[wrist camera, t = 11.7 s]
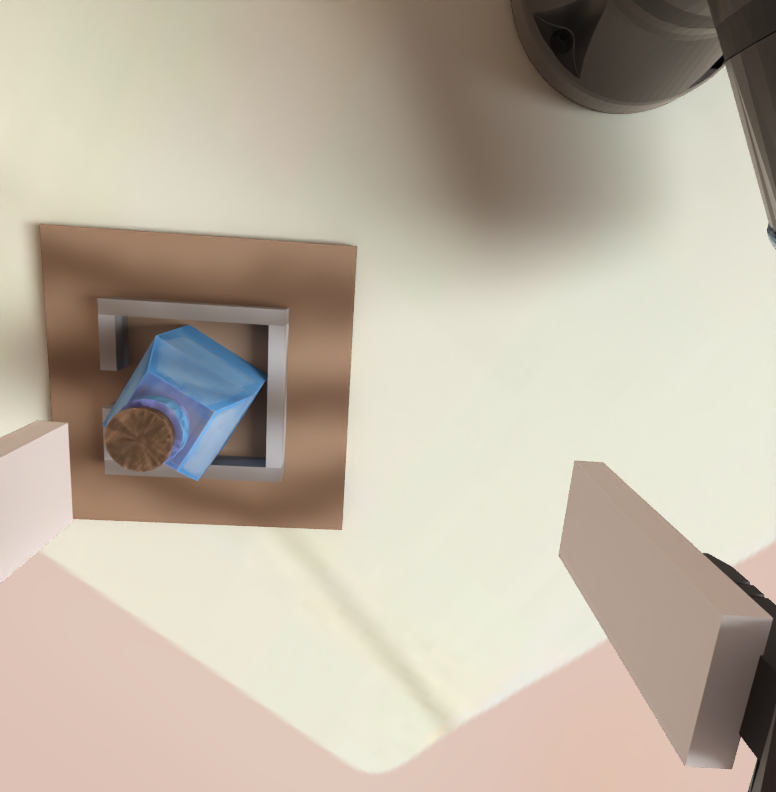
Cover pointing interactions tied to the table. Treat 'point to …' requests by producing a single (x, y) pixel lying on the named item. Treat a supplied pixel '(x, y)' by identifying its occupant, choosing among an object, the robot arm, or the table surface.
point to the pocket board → (232, 328)
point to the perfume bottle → (181, 404)
